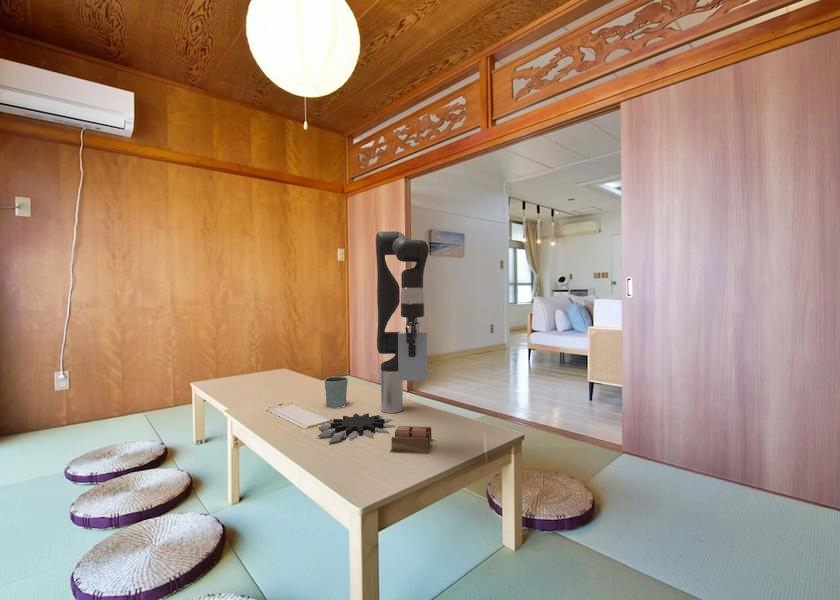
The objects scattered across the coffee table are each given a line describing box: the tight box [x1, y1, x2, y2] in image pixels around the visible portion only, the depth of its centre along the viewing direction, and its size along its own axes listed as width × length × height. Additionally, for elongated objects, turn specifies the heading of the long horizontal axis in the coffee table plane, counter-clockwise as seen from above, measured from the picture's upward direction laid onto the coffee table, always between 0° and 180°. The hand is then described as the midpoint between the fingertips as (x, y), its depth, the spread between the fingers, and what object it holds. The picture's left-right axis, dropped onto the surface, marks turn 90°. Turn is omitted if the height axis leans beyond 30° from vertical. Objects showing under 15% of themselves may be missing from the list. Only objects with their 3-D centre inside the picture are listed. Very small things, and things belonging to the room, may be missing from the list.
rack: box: [389, 425, 434, 455], centre depth 121 cm, size 12×12×6 cm
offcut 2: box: [412, 426, 426, 438], centre depth 118 cm, size 3×4×6 cm
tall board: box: [398, 331, 428, 382], centre depth 123 cm, size 3×9×15 cm, turn 82°
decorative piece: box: [317, 412, 396, 444], centre depth 138 cm, size 30×4×30 cm
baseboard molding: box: [265, 403, 330, 430], centre depth 155 cm, size 31×3×12 cm
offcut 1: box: [395, 426, 410, 437], centre depth 119 cm, size 3×4×6 cm
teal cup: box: [324, 376, 349, 409], centre depth 171 cm, size 10×10×12 cm
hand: (412, 355), depth 123 cm, fingers closed on tall board, 3 cm apart
